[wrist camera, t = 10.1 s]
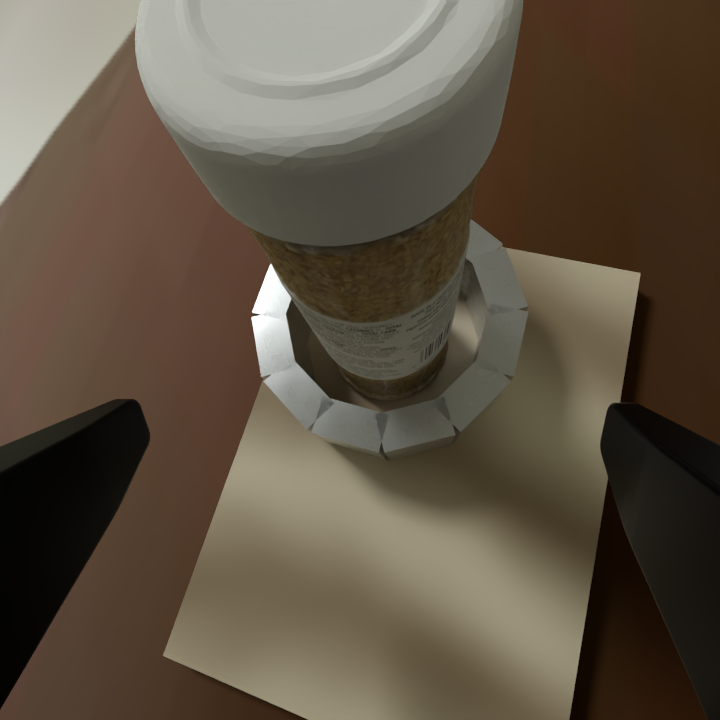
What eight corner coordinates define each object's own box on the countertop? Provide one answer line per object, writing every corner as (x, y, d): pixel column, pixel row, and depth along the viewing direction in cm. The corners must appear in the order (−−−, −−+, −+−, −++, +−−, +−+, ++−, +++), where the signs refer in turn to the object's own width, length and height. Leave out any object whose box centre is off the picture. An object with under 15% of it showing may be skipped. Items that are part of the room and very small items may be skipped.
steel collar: (478, 487, 16) (490, 485, 13) (250, 419, 18) (216, 404, 15) (528, 264, 18) (548, 221, 15) (320, 224, 20) (303, 178, 17)
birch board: (543, 804, 14) (552, 826, 13) (177, 646, 17) (162, 655, 16) (629, 284, 18) (640, 273, 17) (327, 226, 21) (323, 213, 20)
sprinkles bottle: (386, 272, 19) (317, -210, 6) (473, 342, 17) (631, -75, 5) (308, 351, 18) (42, 14, 5) (392, 429, 17) (310, 236, 4)
